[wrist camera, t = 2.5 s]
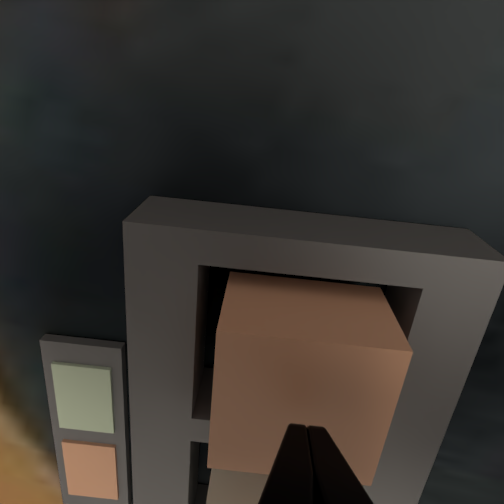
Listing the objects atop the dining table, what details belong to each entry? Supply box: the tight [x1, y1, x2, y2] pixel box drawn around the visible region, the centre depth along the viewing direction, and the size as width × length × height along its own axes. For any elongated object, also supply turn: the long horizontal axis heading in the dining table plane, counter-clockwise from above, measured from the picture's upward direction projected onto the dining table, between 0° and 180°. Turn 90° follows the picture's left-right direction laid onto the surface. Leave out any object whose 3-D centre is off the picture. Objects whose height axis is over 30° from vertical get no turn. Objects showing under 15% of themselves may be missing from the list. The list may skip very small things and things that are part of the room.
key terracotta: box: [207, 271, 413, 486], centre depth 11 cm, size 4×4×3 cm
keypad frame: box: [122, 196, 504, 504], centre depth 15 cm, size 20×10×2 cm, turn 175°
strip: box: [39, 334, 132, 504], centre depth 16 cm, size 9×3×1 cm, turn 175°
